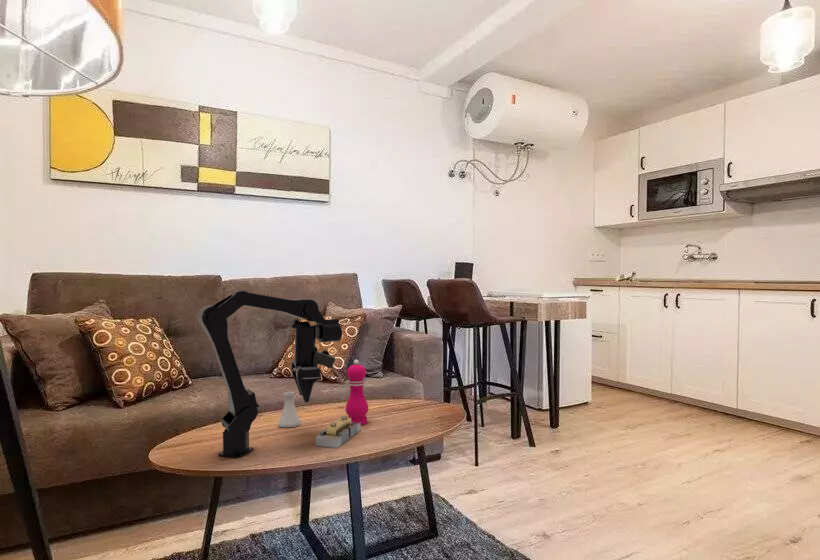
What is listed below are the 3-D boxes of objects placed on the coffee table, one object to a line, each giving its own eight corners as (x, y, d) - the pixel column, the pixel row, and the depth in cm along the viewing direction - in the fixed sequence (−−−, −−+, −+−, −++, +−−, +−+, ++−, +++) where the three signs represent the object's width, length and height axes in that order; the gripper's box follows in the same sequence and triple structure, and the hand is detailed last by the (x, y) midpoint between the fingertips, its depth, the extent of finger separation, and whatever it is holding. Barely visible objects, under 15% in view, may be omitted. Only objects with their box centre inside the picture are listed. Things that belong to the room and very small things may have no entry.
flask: (304, 421, 151) (304, 390, 151) (296, 428, 143) (296, 395, 144) (282, 421, 151) (282, 390, 151) (273, 428, 144) (273, 395, 144)
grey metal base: (337, 448, 125) (337, 436, 125) (315, 446, 127) (315, 434, 127) (360, 430, 140) (360, 420, 140) (341, 428, 142) (341, 419, 142)
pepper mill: (365, 418, 153) (364, 357, 153) (371, 424, 146) (370, 360, 147) (343, 421, 150) (342, 358, 151) (348, 427, 144) (347, 361, 144)
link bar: (341, 428, 139) (341, 414, 139) (351, 429, 138) (351, 415, 138) (326, 439, 129) (326, 424, 129) (336, 440, 128) (336, 425, 128)
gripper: (339, 345, 128) (339, 403, 127) (327, 339, 145) (326, 390, 145) (298, 347, 124) (297, 406, 123) (290, 340, 141) (289, 392, 141)
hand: (304, 398), depth 133 cm, fingers open, 9 cm apart
